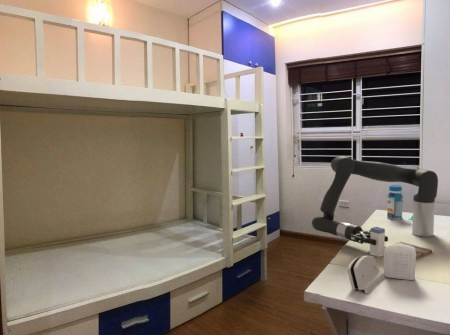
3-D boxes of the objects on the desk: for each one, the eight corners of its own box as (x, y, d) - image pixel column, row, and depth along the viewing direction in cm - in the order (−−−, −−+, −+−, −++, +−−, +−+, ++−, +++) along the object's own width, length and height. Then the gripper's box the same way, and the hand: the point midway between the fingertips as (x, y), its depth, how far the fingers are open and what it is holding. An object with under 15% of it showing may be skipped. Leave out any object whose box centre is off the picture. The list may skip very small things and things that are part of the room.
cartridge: (375, 252, 143) (376, 226, 142) (384, 254, 140) (384, 228, 138) (369, 254, 141) (370, 228, 140) (378, 256, 138) (379, 230, 136)
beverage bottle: (401, 220, 194) (402, 187, 192) (386, 218, 198) (386, 186, 196) (402, 217, 201) (403, 185, 199) (387, 215, 205) (388, 184, 203)
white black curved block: (366, 294, 106) (357, 263, 107) (353, 294, 109) (343, 265, 110) (385, 277, 117) (376, 250, 119) (372, 278, 121) (363, 251, 122)
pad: (400, 243, 153) (400, 241, 153) (432, 252, 141) (432, 249, 141) (382, 249, 146) (382, 247, 145) (414, 259, 134) (414, 256, 133)
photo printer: (413, 276, 118) (414, 243, 117) (416, 281, 114) (417, 247, 113) (382, 273, 121) (383, 241, 120) (384, 278, 117) (385, 245, 116)
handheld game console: (432, 217, 201) (432, 215, 200) (427, 223, 189) (427, 220, 188) (414, 215, 207) (414, 213, 207) (408, 220, 195) (408, 218, 195)
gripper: (339, 226, 148) (371, 235, 134) (359, 221, 155) (392, 229, 141) (338, 242, 148) (371, 253, 135) (358, 236, 156) (391, 246, 142)
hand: (381, 241), depth 138 cm, fingers open, 7 cm apart
